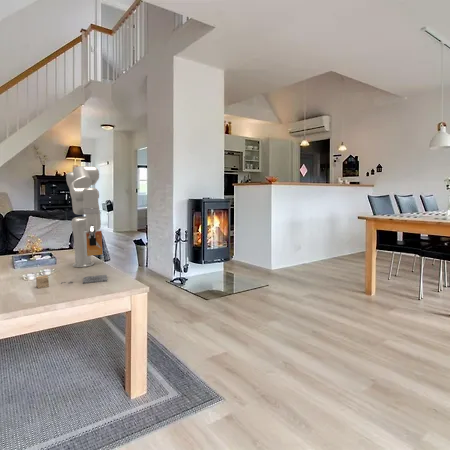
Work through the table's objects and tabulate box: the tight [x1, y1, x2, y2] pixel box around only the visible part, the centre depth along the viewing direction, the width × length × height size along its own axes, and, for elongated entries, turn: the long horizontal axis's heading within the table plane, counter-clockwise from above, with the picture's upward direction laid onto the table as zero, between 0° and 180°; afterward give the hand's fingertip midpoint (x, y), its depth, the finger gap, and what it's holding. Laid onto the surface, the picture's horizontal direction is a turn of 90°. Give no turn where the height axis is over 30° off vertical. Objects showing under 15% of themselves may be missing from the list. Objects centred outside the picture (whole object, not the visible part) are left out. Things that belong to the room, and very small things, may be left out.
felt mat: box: [82, 274, 108, 284], centre depth 187 cm, size 12×12×1 cm
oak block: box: [35, 275, 50, 289], centre depth 175 cm, size 5×5×5 cm
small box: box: [84, 229, 104, 257], centre depth 185 cm, size 8×6×13 cm
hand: (93, 244), depth 185 cm, fingers closed on small box, 7 cm apart
